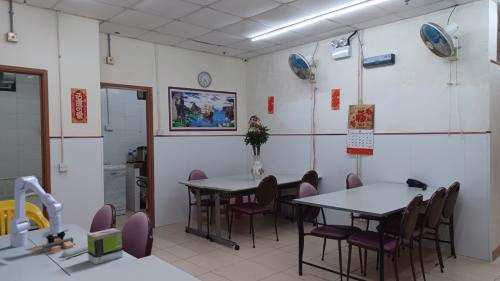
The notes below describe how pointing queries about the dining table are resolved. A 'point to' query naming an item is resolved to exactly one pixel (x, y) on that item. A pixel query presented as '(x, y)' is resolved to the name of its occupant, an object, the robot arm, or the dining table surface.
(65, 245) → the tile
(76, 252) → the tube
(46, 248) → the scraper
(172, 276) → the dining table surface
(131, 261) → the dining table surface
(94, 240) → the tea box
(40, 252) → the board
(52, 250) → the pink block
